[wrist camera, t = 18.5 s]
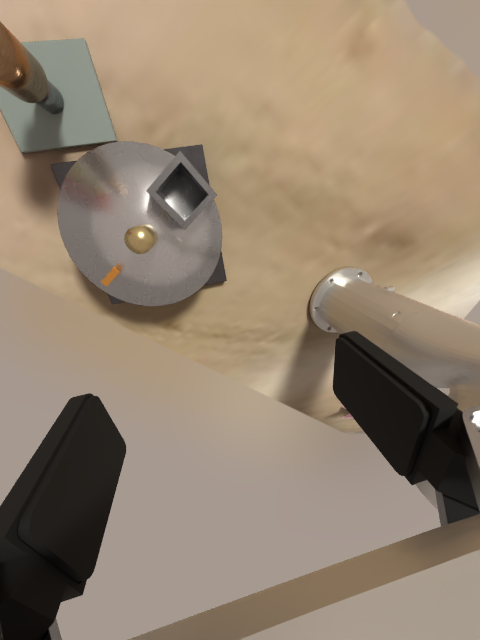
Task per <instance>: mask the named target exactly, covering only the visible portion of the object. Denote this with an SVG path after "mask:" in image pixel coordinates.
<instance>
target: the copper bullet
mask: <svg viewBox="0 0 480 640" xmlns="http://www.w3.org/2000/svg"><path fill="white" fill-rule="evenodd" d="M0 87H2V88H3V89H5V90H6V91H8V92H9V93H11V94H12V95H13V96H15V97H16V98H18V99H20V100H22V101H24V102H27V103H37V104H38V105H39V106H41V107H42V108H43V109H45V110H46V111H48V112H50V113H52V114H58V113H60V112H62V110H63V109H64V99H63V97H62V95H61V93H60V91H59V90H58V89H57V88H56V87H55V86H54V85H53V84H52V83H51V82H50V81H49V80H48V79H47V77H46V74H45V72H44V70H43V68H42V66H41V64H40V63H39V62H38V60H37V59H36V58H35V57H34V56H33V55H32V54H31V53H30V52H29V51H28V50H27V49H26V48H25V47H24V46H23V45H22V44H21V43H20V42H19V41H18V39H17V38H16V37H15V36H14V35H13V34H12V33H11V32H10V31H9V30H8V29H7V28H6V27H5V26H4V25H3V24H2V23H1V22H0Z"/></svg>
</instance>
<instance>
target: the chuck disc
mask: <svg viewBox="0 0 480 640" xmlns="http://www.w3.org/2000/svg"><path fill="white" fill-rule="evenodd" d="M216 196H217V194H216V193H215V192H214V191H213V189H212V188H211V187H210V186H209V185H208V183H207V182H206V181H205V180H204V179H203V177H202V176H201V175H200V174H199V173H198V172H197V170H196V169H195V168H194V167H193V166H192V164H191V163H190V162H189V161H188V160H187V158H186V157H185V156H184V155H183V154H182V152H181V151H179V152H178V154H177V155H176V156H174V155H173V154H171V153H169V152H167V151H165V150H163V149H161V148H158V147H155V146H152V145H149V144H145V143H139V142H127V141H121V142H114V143H109V144H105V145H102V146H99V147H97V148H95V149H93V150H91V151H89V152H87V153H86V154H85V155H83V156H82V157H81V158H80V159H78V161H77V162H76V163H75V164H74V165H73V166H72V167H71V169H70V170H69V172H68V173H67V175H66V176H65V178H64V181H63V183H62V186H61V188H60V193H59V197H58V207H57V215H58V224H59V229H60V234H61V237H62V240H63V242H64V245H65V247H66V249H67V251H68V253H69V255H70V257H71V258H72V260H73V261H74V263H75V265H76V266H77V267H78V268H79V270H80V271H81V272H82V273H83V274H84V275H85V276H86V277H87V278H88V279H89V280H90V281H91V282H92V283H93V284H95V285H96V286H97V287H98V288H100V289H101V290H103V291H104V292H106V293H108V294H109V295H111V296H113V297H115V298H117V299H120V300H123V301H125V302H128V303H132V304H136V305H143V306H162V305H168V304H173V303H176V302H179V301H182V300H184V299H186V298H188V297H190V296H191V295H192V294H194V293H195V292H197V291H198V290H199V289H200V288H201V287H202V286H203V285H204V284H205V283H206V282H207V281H208V280H209V278H210V276H211V275H212V273H213V272H214V270H215V267H216V265H217V263H218V260H219V257H220V252H221V247H222V227H221V221H220V216H219V213H218V210H217V206H216V204H215V202H214V200H213V199H214V198H215V197H216Z"/></svg>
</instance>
